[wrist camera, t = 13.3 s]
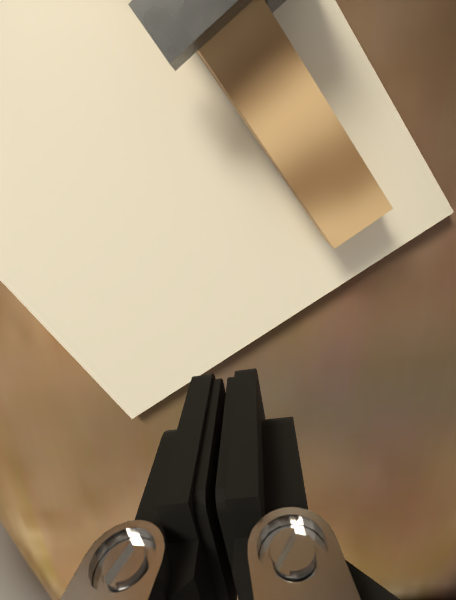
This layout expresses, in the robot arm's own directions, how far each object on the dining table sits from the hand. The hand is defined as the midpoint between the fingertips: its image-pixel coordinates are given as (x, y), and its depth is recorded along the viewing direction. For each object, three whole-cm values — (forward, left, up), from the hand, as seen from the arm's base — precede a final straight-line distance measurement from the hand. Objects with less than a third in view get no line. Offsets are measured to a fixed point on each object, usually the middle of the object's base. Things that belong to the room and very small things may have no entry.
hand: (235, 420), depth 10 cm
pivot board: (+1, -9, -19) cm, 21 cm away
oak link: (-7, -11, -18) cm, 22 cm away
